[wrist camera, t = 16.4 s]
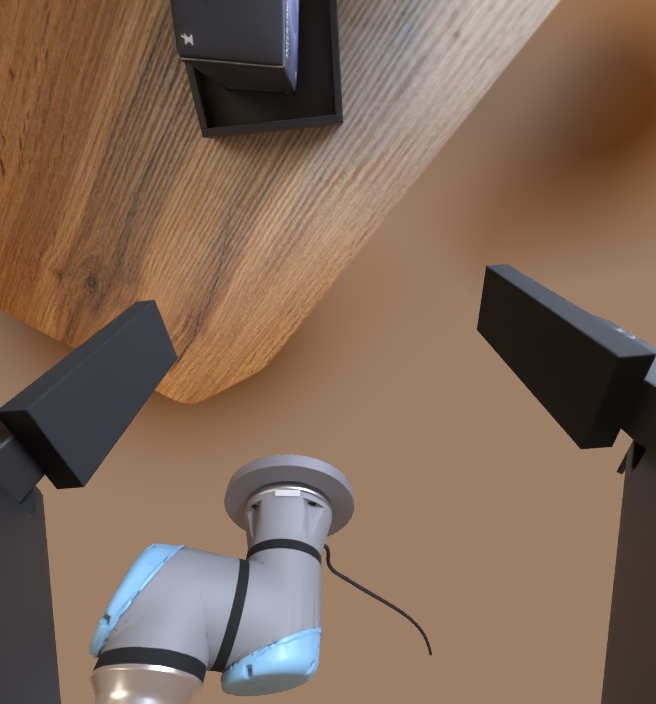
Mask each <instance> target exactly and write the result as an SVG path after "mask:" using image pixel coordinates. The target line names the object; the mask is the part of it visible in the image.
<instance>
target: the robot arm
mask: <svg viewBox="0 0 656 704" xmlns="http://www.w3.org/2000/svg"><path fill="white" fill-rule="evenodd" d="M477 330H478V331H479V333H480V334H481V335H482V336H483V337H484V338H485V339H486V341H487V342H488V343H489V344H490V345H491V346H492V347H493V349H494V350H495V351H496V352H497V353H498V354H499V355H500V357H501V358H502V359H503V360H504V361H505V363H506V364H507V365H508V366H509V367H510V368H511V369H512V371H513V372H514V373H515V374H516V375H517V376H518V377H519V379H520V380H521V381H522V382H523V383H524V384H525V386H526V387H527V388H528V389H529V390H530V391H531V392H532V394H533V395H534V396H535V397H536V398H537V399H538V400H539V402H540V403H541V404H542V405H543V406H544V407H545V408H546V410H547V411H548V412H549V413H550V414H551V415H552V417H553V418H554V419H555V420H556V421H557V422H558V423H559V425H560V426H561V427H562V428H563V429H564V430H565V432H566V433H567V434H568V435H569V436H570V437H571V438H572V440H573V441H574V442H575V443H576V444H577V445H578V447H579V448H580V449H589V448H602V447H612V446H613V444H614V442H615V440H616V437H617V435H618V433H619V431H620V429H622V430H624V431H625V432H626V433H627V434H628V435H629V436H630V437H631V438H632V439H633V442H632V444H631V446H630V447H629V449H628V451H627V453H626V455H625V457H624V459H623V461H622V463H621V465H620V466H619V468H618V470H617V472H618V473H621V474H623V472H624V471H625V469H626V471H625V480H624V490H623V499H622V509H621V518H620V529H619V538H618V547H617V556H616V566H615V575H614V585H613V594H612V604H611V614H610V623H609V633H608V642H607V651H606V662H605V670H604V680H603V689H602V690H603V691H602V699H601V704H656V348H655V347H654V346H652V345H650V344H648V343H647V342H645V341H643V340H642V339H637V337H636V336H635V335H633V334H631V333H630V332H628V331H624V329H623V328H621V327H619V326H618V325H616V324H614V323H613V322H611V321H609V320H606V319H603V318H600V317H597V316H594V315H591V314H589V313H588V312H586V311H584V310H583V309H581V308H579V307H578V306H576V305H574V304H573V303H571V302H569V301H568V300H566V299H564V298H563V297H561V296H559V295H558V294H556V293H554V292H553V291H551V290H549V289H548V288H546V287H544V286H542V285H541V284H539V283H538V282H536V281H534V280H533V279H531V278H529V277H528V276H526V275H524V274H523V273H521V272H519V271H518V270H516V269H514V268H513V267H511V266H509V265H508V264H500V265H491V266H486V271H485V278H484V285H483V292H482V299H481V306H480V312H479V319H478V326H477ZM177 358H178V357H177V355H176V352H175V350H174V347H173V345H172V342H171V340H170V337H169V335H168V332H167V330H166V327H165V325H164V322H163V320H162V317H161V315H160V312H159V310H158V307H157V305H156V302H155V300H150V301H140V302H135V303H134V304H133V305H132V306H130V307H129V308H128V309H126V310H125V311H124V312H123V313H121V314H120V315H119V316H117V317H116V318H115V319H114V320H112V321H111V322H110V323H109V324H107V325H106V326H105V327H103V328H102V329H101V330H100V331H98V332H97V333H96V334H94V335H93V336H92V337H91V338H89V339H88V340H87V341H85V342H84V343H83V344H82V345H80V346H79V347H78V348H76V349H75V350H74V351H73V352H71V353H70V354H69V355H68V356H66V357H65V358H64V359H62V360H61V361H60V362H59V363H57V364H56V365H55V366H53V367H52V368H51V369H50V370H49V371H47V372H46V373H45V374H43V375H42V376H41V377H39V378H38V379H37V380H35V381H34V382H33V383H32V384H30V385H29V386H28V387H26V388H25V389H24V390H23V391H21V392H20V393H19V394H17V395H16V396H15V397H14V398H12V399H11V400H10V401H9V402H7V403H6V404H5V405H3V406H2V407H1V408H0V704H61V700H60V689H59V677H58V665H57V655H56V642H55V631H54V619H53V608H52V597H51V586H50V575H49V574H50V573H49V561H48V551H47V539H46V528H45V515H44V506H43V505H44V504H43V495H42V494H41V492H40V490H39V489H38V488H37V487H36V486H35V485H36V484H37V483H38V482H39V481H40V480H41V478H42V477H43V476H44V475H46V476H47V477H48V479H49V480H50V481H51V482H52V483H53V484H54V486H55V487H56V488H57V489H65V488H77V487H84V486H85V485H86V484H87V482H88V481H89V480H90V478H91V477H92V475H93V474H94V473H95V471H96V470H97V469H98V467H99V466H100V464H101V463H102V462H103V460H104V459H105V457H106V456H107V455H108V453H109V452H110V451H111V449H112V448H113V446H114V445H115V444H116V442H117V441H118V439H119V438H120V437H121V435H122V434H123V433H124V431H125V430H126V428H127V427H128V426H129V424H130V423H131V422H132V420H133V419H134V417H135V416H136V415H137V413H138V412H139V411H140V409H141V408H142V406H143V405H144V404H145V402H146V401H147V400H148V398H149V397H150V395H151V394H152V393H153V391H154V390H155V388H156V387H157V386H158V384H159V383H160V382H161V380H162V379H163V377H164V376H165V375H166V373H167V372H168V371H169V369H170V368H171V366H172V365H173V364H174V362H175V361H176V360H177ZM331 522H332V503H331V501H330V499H329V497H328V496H327V495H326V494H325V493H324V492H322V491H321V490H320V489H318V488H316V487H314V486H311V485H309V484H305V483H301V482H295V481H279V482H273V483H269V484H266V485H263V486H261V487H259V488H257V489H256V490H255V491H253V492H252V493H251V494H250V496H249V497H248V500H247V503H246V508H245V525H246V534H247V543H248V553H247V558H246V560H243V559H238V558H233V557H229V556H224V555H220V554H215V553H210V552H206V551H201V550H197V549H193V548H188V547H186V546H185V545H180V546H174V545H168V544H161V543H158V544H153V545H151V546H149V547H148V548H146V549H145V550H144V551H143V552H142V553H141V554H140V556H139V557H138V558H137V559H136V561H135V562H134V563H133V565H132V566H131V568H130V569H129V571H128V572H127V574H126V575H125V577H124V578H123V580H122V582H121V583H120V585H119V587H118V589H117V590H116V592H115V594H114V596H113V597H112V599H111V601H110V603H109V605H108V606H107V608H106V611H105V615H104V616H103V617H102V619H101V621H100V623H99V625H98V626H97V628H96V630H95V633H94V635H93V637H92V640H91V642H90V646H89V652H90V654H91V655H93V657H94V658H99V659H98V661H97V663H96V665H95V668H94V670H93V672H92V675H91V677H90V680H91V684H92V687H93V690H94V694H95V704H188V703H189V702H190V701H191V700H192V699H193V698H194V697H195V696H196V695H197V694H198V693H199V692H200V691H201V689H202V686H203V681H204V677H205V673H206V670H208V671H218V672H222V673H223V674H222V676H221V683H222V686H221V687H222V690H223V691H224V692H225V693H227V694H234V695H236V696H258V695H267V694H273V693H278V692H283V691H286V690H290V689H293V688H296V687H298V686H300V685H302V684H304V683H306V682H307V681H309V679H311V678H312V676H313V675H314V674H315V672H316V670H317V667H318V661H319V646H320V636H321V634H322V630H321V554H322V551H323V548H325V549H326V552H327V557H326V561H327V565H328V567H329V569H330V570H331V571H332V572H333V573H334V574H335V575H337V576H339V577H340V578H342V579H344V580H345V581H347V582H349V583H350V584H352V585H354V586H355V587H357V588H358V589H361V590H362V591H364V592H365V593H367V594H369V595H370V596H372V597H374V598H376V599H378V600H379V601H381V602H383V603H385V604H386V605H388V606H390V607H391V608H393V609H394V610H396V611H398V612H399V613H400V614H402V615H403V616H405V617H406V618H407V619H409V620H410V621H411V622H412V623H413V624H414V625H415V626H416V627H417V628H418V629H419V631H420V632H421V633H422V635H423V637H424V639H425V641H426V644H427V646H428V649H429V654H430V655H432V652H431V648H430V645H429V642H428V639H427V637H426V635H425V633H424V632H423V630H422V629H421V627H420V626H419V625H418V624H417V623H416V622H415V621H414V620H413V619H412V618H411V617H409V616H408V615H407V614H406V613H404V612H403V611H402V610H400V609H399V608H397V607H396V606H394V605H392V604H390V603H389V602H387V601H386V600H384V599H383V598H381V597H379V596H377V595H376V594H374V593H372V592H371V591H369V590H367V589H365V588H364V587H362V586H360V585H359V584H357V583H355V582H354V581H352V580H350V579H349V578H348V577H346V576H344V575H342V574H341V573H339V572H337V571H336V570H335V569H334V568H333V567H332V566H331V564H330V550H329V547H328V546H327V545H326V544H325V541H326V538H327V535H328V532H329V529H330V526H331Z"/></svg>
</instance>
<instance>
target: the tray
mask: <svg viewBox="0 0 656 704" xmlns="http://www.w3.org/2000/svg"><path fill="white" fill-rule="evenodd" d="M185 66H186V70H187V74H188V78H189V83H190V87H191V91H192V95H193V99H194V103H195V107H196V112H197V116H198V120H199V124H200V128H201V132H202V137H204V138H218V137H227V136H237V135H247V134H256V133H266V132H276V131H285V130H295V129H304V128H314V127H324V126H333V125H342V123H343V114H342V113H343V110H342V90H341V70H340V50H339V30H338V11H337V0H299V35H298V72H297V89H296V93H295V94H273V93H272V92H271V93H269V92H264V93H263V92H258V91H254V92H253V91H245V90H244V91H241V90H232V91H230V90H225V89H224V88H223V87H222V86H221V85H220V84H219V83H217V82H215V81H214V80H212V79H211V78H209V77H208V76H206V75H205V74H204V73H202V72H200V71H199V70H197V69H196V68H195V67H193V66H191V65H190V64H188V63H185Z"/></svg>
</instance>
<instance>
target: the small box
mask: <svg viewBox="0 0 656 704" xmlns="http://www.w3.org/2000/svg"><path fill="white" fill-rule="evenodd" d="M169 3H170V10H171V17H172V25H173V32H174V38H175V46H176V54H177V56H178V58H179V59H180V60H181V61H183V62H185V63H188V64H190V65H191V66H193V67H195V68H196V69H197V70H199V71H200V72H202V73H204V74H205V75H206V76H208V77H209V78H211V79H212V80H214V81H215V82H217V83H219V84H220V85H221V86H222V87H223V88H224V89H225V90H230V91H232V90H241V91H244V90H245V91H253V92H254V91H258V92H263V93H264V92H269V93H271V92H272V93H273V94H295V93H296V89H297V72H298V35H299V0H169Z"/></svg>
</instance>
